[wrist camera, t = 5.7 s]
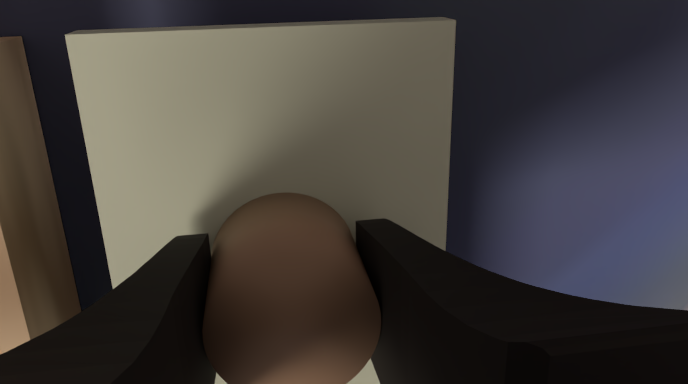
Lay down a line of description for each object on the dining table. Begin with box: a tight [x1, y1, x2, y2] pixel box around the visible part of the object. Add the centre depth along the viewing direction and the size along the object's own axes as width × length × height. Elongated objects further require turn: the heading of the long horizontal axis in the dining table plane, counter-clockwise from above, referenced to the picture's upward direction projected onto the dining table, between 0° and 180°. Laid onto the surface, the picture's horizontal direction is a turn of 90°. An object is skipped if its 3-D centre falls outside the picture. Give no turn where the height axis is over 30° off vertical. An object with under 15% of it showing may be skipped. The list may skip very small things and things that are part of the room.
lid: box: [65, 17, 456, 384], centre depth 12 cm, size 9×7×4 cm
